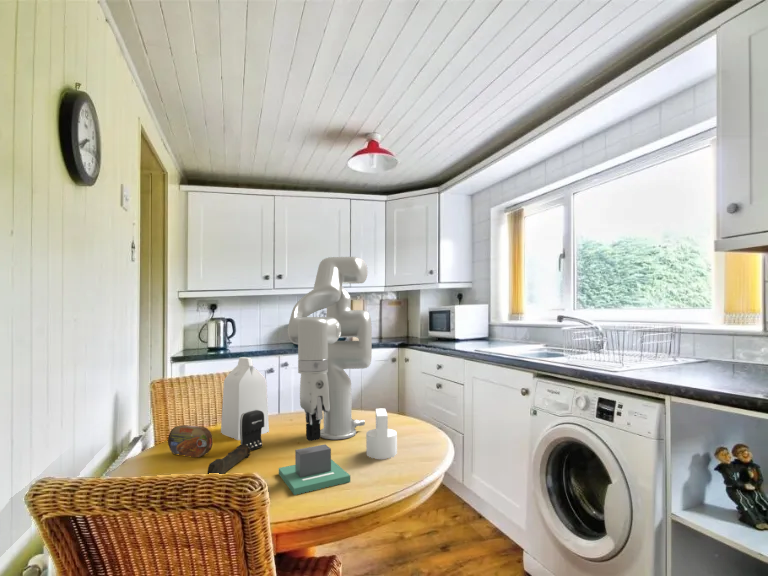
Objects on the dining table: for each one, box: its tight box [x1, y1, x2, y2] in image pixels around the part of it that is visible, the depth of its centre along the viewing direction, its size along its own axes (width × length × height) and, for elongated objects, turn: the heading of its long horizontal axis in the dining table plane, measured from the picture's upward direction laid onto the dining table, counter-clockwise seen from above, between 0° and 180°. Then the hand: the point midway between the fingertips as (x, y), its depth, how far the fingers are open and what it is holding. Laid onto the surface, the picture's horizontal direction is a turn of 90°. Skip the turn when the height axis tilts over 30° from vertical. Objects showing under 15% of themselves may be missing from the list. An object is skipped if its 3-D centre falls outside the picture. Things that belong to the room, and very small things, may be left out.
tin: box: [167, 424, 213, 458], centre depth 118 cm, size 15×3×8 cm, turn 70°
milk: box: [220, 356, 270, 441], centre depth 140 cm, size 12×12×26 cm
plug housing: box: [294, 443, 332, 478], centre depth 101 cm, size 8×4×6 cm, turn 119°
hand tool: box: [206, 444, 251, 475], centre depth 107 cm, size 19×4×5 cm, turn 170°
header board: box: [278, 458, 351, 496], centre depth 101 cm, size 14×14×5 cm
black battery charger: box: [240, 410, 264, 452], centre depth 123 cm, size 7×4×11 cm, turn 146°
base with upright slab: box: [365, 407, 398, 460], centre depth 117 cm, size 9×9×12 cm
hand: (313, 439), depth 101 cm, fingers closed
